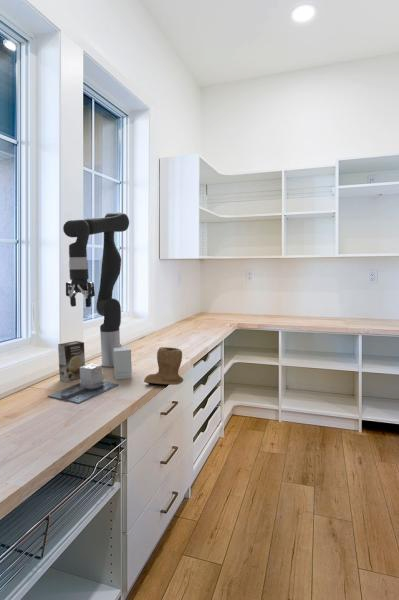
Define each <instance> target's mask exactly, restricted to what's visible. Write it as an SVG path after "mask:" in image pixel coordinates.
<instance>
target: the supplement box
mask: <svg viewBox="0 0 399 600" xmlns="http://www.w3.org/2000/svg"><path fill="white" fill-rule="evenodd" d="M113 358H114V366H113V374H114V379H115V381H117V380H126V379H127V380H128V379H132V378H133V371H132V370H133V369H132V365H133V364H132V349H131V348H130V346H121V347H120V348H113Z"/></svg>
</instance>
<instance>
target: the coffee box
mask: <svg viewBox="0 0 399 600" xmlns="http://www.w3.org/2000/svg"><path fill="white" fill-rule="evenodd" d="M57 347H58V349H57V350H58V367H59V368H58V369H59V373H58V374H59V381H60V382H64V383H67V384H68V383H71V382H76V381H80V367H82V366H85V365H86V357H85V355H86V354H85V342H83V341H78V340H74V341H69V342H64V343H58V344H57Z"/></svg>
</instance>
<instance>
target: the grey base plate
mask: <svg viewBox="0 0 399 600" xmlns="http://www.w3.org/2000/svg"><path fill="white" fill-rule="evenodd" d="M119 385H120V384H119V383H115V382H109V381H104V380H103V382H101V383H99V384H96V385H94V386H87V385H82V384H80V382H79V383H76V384H73V385H72V386H69V387H66V388H64V389H62V390H59V391H55V392H54V393H51V394H48V395H47V397H48V398H52V399H55V400H60V401H64V402H65V401H66V402H70V403H73V404H77V405H78V404H81V403H83V402H86V401H88V400H90V399H91V398H94V397H96V396H98V395H101V394H103V393H104V392H107V391H109V390H112V389H114V388H115V387H118V386H119Z"/></svg>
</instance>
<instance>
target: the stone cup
mask: <svg viewBox="0 0 399 600" xmlns="http://www.w3.org/2000/svg"><path fill="white" fill-rule="evenodd" d="M182 358H183V350H182V349H180V348H177V347H167V346H165V347H164V346H163V347H162V346H161V347H159V348H158V350H157V352H156V362H157V366H158V372H156V373H152V374H151V373H150V374H148V375H146V377H144V380H143V382H144V383H146V384H155V385H174V386H175V385H176V386H177V385H180V384H181V383H183V382H184V377H183V376H180V375H179V370H180V367H181V365H182V364H181V363H182V361H183V360H182Z"/></svg>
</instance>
